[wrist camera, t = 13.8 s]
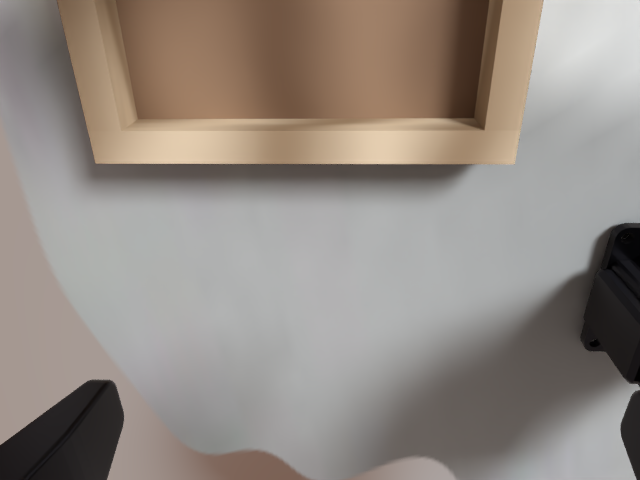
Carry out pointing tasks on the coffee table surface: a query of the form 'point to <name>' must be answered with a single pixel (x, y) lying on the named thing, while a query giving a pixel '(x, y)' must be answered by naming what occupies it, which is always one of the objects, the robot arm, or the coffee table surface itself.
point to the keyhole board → (302, 79)
